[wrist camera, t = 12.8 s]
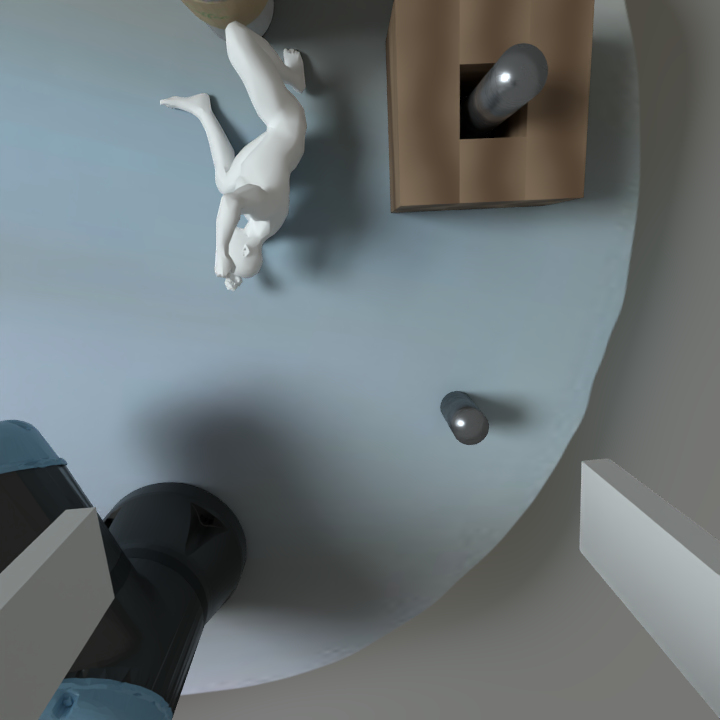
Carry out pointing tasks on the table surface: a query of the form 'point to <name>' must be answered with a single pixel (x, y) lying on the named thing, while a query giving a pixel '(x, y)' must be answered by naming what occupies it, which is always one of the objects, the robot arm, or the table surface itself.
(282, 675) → the table surface
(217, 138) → the person figurine
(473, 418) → the short pin
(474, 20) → the pin block
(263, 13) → the coffee cup
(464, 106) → the long pin
